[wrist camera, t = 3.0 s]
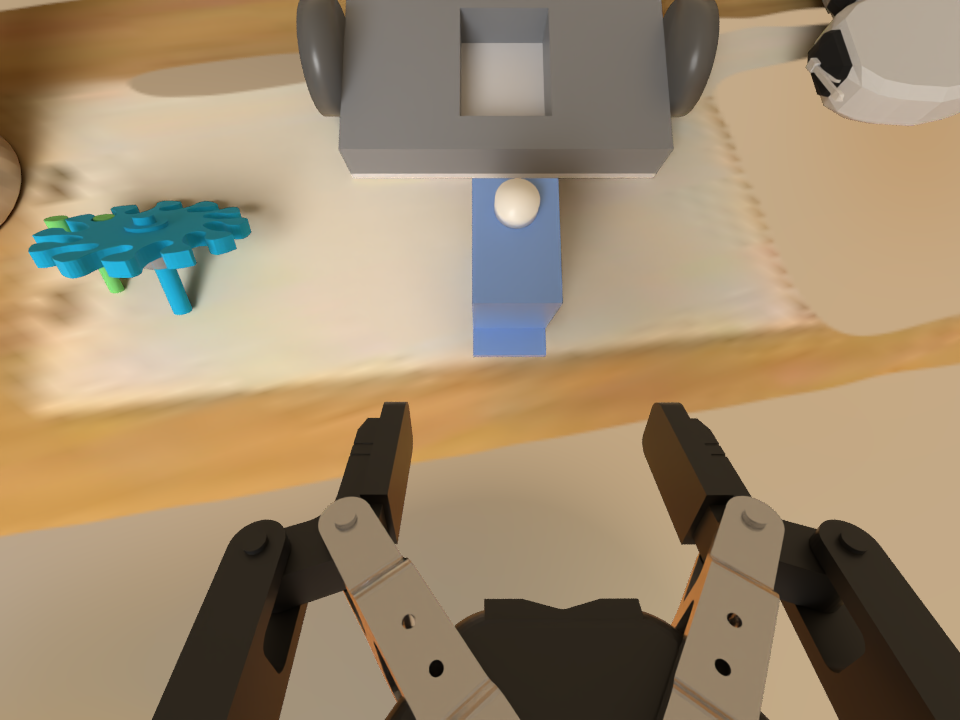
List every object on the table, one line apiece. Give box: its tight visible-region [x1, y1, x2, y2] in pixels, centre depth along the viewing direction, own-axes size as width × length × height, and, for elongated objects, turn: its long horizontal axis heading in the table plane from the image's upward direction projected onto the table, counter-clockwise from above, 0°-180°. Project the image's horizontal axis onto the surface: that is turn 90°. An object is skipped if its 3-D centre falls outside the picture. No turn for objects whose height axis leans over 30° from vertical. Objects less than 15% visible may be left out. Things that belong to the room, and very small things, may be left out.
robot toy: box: [806, 0, 960, 126], centre depth 28 cm, size 12×4×15 cm
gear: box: [28, 201, 251, 315], centre depth 25 cm, size 11×6×10 cm
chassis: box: [297, 0, 719, 178], centre depth 26 cm, size 12×23×6 cm, turn 90°
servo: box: [472, 178, 563, 357], centre depth 23 cm, size 9×4×9 cm, turn 0°
